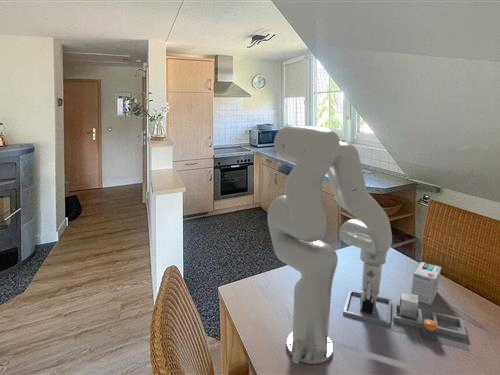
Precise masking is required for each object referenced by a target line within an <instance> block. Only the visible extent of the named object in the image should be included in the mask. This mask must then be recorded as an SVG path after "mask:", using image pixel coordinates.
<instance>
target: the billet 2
mask: <svg viewBox="0 0 500 375" xmlns="http://www.w3.org/2000/svg"><path fill="white" fill-rule="evenodd" d="M399 304H400V305H399V317H402V318H406V319H410V320H414V321H416V316H417V309H419V308H418V307H419V301H418V295H414V294H411V293H408V292H404V291H401V295H400V299H399Z"/></svg>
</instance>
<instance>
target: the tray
mask: <svg viewBox="0 0 500 375" xmlns="http://www.w3.org/2000/svg"><path fill="white" fill-rule="evenodd" d="M352 295H354V296H359V297H361V291H357V290H352V289H349V290H348V294H347V297H346V300H345V304H344V307H343V311H342V315H344V316H349V317H351V318H355V319H360V320H362V321H367V322H370V323H371V322H372V323H375V324H378V325H382V326H386V327H391V319H392V318H391V316H392V300H393V299H392V298H388V297H383V296H381V295H377V299H376V301H380V302H384V303H388V307H387V319H386V320H384V319H379V318H376V317H372V316H368V315H364V314H362V313H361V314H360V313H356V312H352V311H348V309H349V308H348V307H349V303H350V301H351V298H352Z"/></svg>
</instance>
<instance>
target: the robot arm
mask: <svg viewBox="0 0 500 375" xmlns="http://www.w3.org/2000/svg"><path fill="white" fill-rule="evenodd" d="M273 148H274V150H275V153H276V154H277V156H279V157H280V158H281V159H282V160H284V161H287V162H290V163H292V164H294V165H293V167H292V169H291V170H290V172H289V174H288V175H287V177H286V180H285V183H284V195H279V196H277V197H276V198H274V199H273V200H272V201H271V203H270V205H269V207H268V209H267V219H266V220H267V225H268V229H269V234H270V238H271V243H272V248H273V251H274V253H275V256H276V257H277V259H278V260H279V261H281V262H282V263H284V264H285V265H287V266H289V267H290V268H292V269H293V270H295V271H297V272H299V273H300V275H301V277H300V279H298V281H297V282H296V283H295V286H294V288H293V290H294V291H293V315H292V332H290V334H289V335H288V337H287V338H286V349H287V351H288V353H289V354H290V355H291V356H292V357H291V360H292V362H293V363H294V364H295V365H296V364H297V365H298V364H299V363H300V362H301V363H304V364H310V365H319V364H322V363H325V362H327V361H328V360H330V359H331V358H332V355H333V354H334V345H333V341H332V340H331V338H329V330H330V315H331V314H330V313H331V312H330V311H331V298H332V287H333V280H334V277H335V274H336V269H337V265H338V262H339V259H338V254H337V252H336V250H335V249H334V248H333V247H332V246H331V245H330V244H328V243H327V242H324V241H323V240H322V239H323V237H325V235H326V232H327V217H326V211H325V203H324V195H323V182H324V179H325V176H326V175H327V177H328V179H329V183H330V186H331V189H332V190H331V191H332V192H333V193H332V194H333V197H334V199H335V202H336V203H337V204H338V205H339V206H340V207H341V208H342V209H344V210H345V211H347V212H348V213H349V214H351V215H352V216H353V217H355V218H353V219H348V220H347V221H345V222H344V223H343V224H342V225H341V226H340V228H339V236H340V239H341V240H343V242H345V243H346V244H349V245H350V246H351V245H352V246H353V247H356V248H359V249H360V256H359V259H360V260H361V262H363V268H362V283H361V284H362V287H361V290H362V291H363V292H364V299H363V303H362V310H361V311H362V312H365V313H369V314H374V313H373V304H374V301H373V296H374V295H376V296H380V295H379V294H380V287H381V279H382V270H383V265H385V264H386V263H387V255H388V251H389V250H390V249H391V246H392V243H393V236H392V235H393V234H392V233H393V232H392V227H391V223H390V219H389V218H390V217H389V216H388V214H387V213H386V211H385V210H384V208H382V206H381V205H380V204H379V203H378V201H376V199H375V198H374V197H373V196H372V195H371V194H370V193H369V192H368V189H367V186H366V181H365V177H364V173H363V172H364V170H363V169H362V168H363V167H362V163H361V158H360V155H359V152H358V149H357V147H355V145H353V144H352V143H348V142H343V141H341V140H340V136H339V135H338V133H336V132H335V131H333V129H329V128H326V127H318V126H303V125H302V126H301V125H287V126H286V125H285V126H284V127H281V128H280V129H279V131H277V133H276V135H275V137H274V140H273ZM366 289H367V291H366ZM371 290H372V291H373V292H371ZM371 295H372V297H370V296H371Z"/></svg>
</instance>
